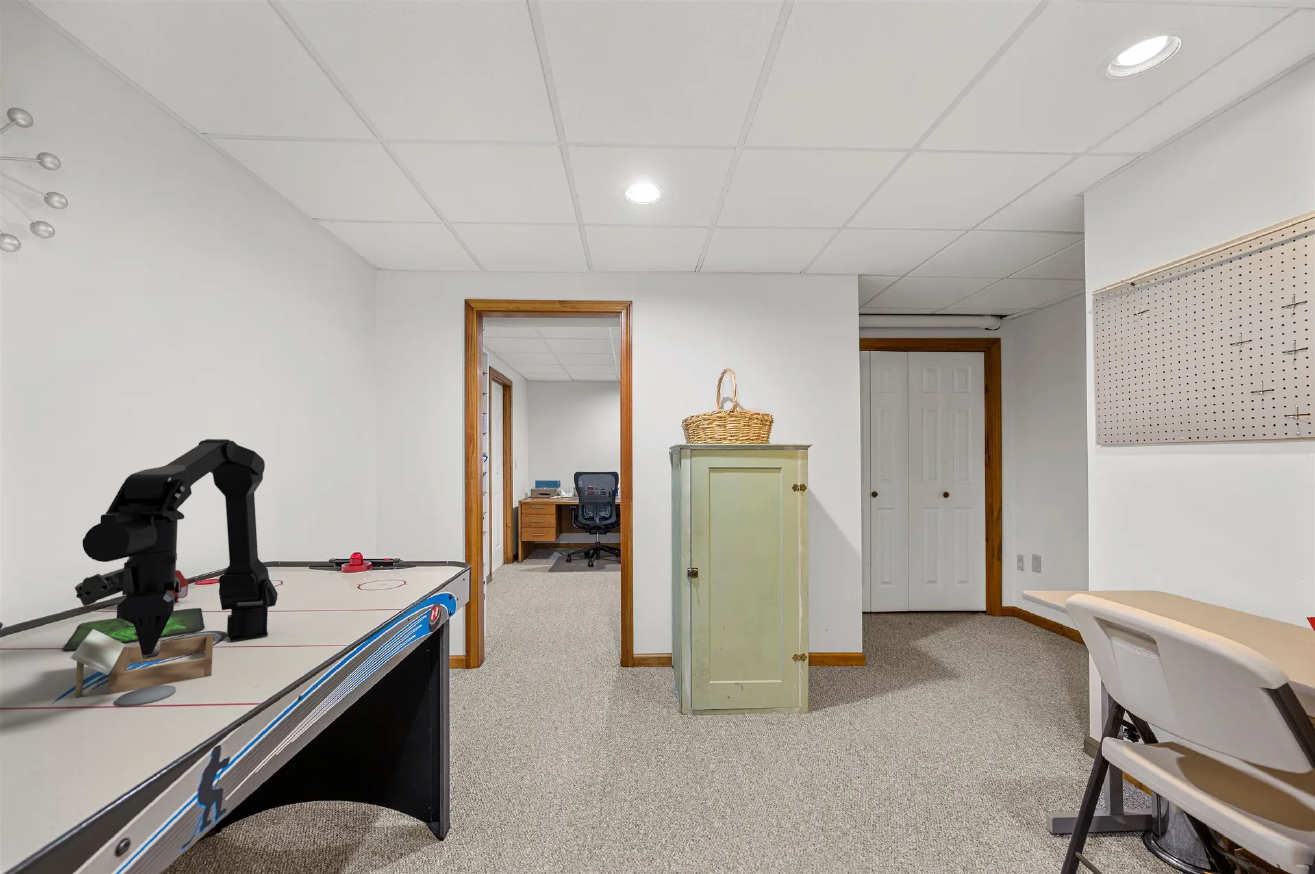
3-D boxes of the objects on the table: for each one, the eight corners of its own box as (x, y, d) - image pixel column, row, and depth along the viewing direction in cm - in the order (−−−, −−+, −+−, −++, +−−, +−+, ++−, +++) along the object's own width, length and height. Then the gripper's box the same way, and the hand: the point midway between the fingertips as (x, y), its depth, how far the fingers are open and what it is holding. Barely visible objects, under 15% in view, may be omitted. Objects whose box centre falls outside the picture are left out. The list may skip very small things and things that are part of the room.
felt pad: (177, 684, 94) (177, 681, 94) (174, 698, 88) (174, 695, 88) (119, 694, 89) (119, 692, 89) (112, 710, 84) (112, 707, 84)
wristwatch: (159, 649, 92) (160, 619, 93) (167, 658, 89) (168, 626, 89) (130, 655, 90) (131, 624, 90) (137, 664, 86) (138, 631, 86)
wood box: (212, 649, 111) (214, 613, 111) (211, 675, 98) (213, 634, 98) (88, 669, 100) (90, 629, 101) (67, 701, 87) (70, 655, 87)
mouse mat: (78, 624, 129) (79, 620, 129) (201, 608, 144) (201, 604, 144) (61, 655, 109) (61, 650, 109) (205, 633, 123) (206, 628, 123)
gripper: (93, 548, 92) (88, 643, 92) (68, 565, 78) (63, 679, 77) (181, 542, 99) (178, 631, 98) (174, 556, 84) (170, 661, 84)
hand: (149, 648), depth 89 cm, fingers closed on wristwatch, 6 cm apart
